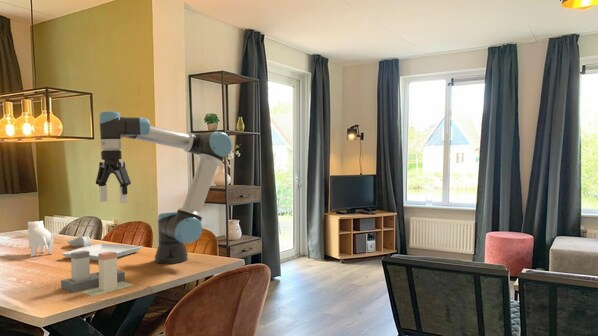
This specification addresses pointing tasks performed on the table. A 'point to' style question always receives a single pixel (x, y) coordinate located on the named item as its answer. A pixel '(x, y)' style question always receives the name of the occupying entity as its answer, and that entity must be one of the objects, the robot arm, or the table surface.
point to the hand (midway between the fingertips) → (113, 202)
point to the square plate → (105, 250)
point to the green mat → (98, 291)
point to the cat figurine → (39, 237)
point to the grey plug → (80, 266)
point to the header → (86, 282)
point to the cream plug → (107, 270)
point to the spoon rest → (80, 242)
